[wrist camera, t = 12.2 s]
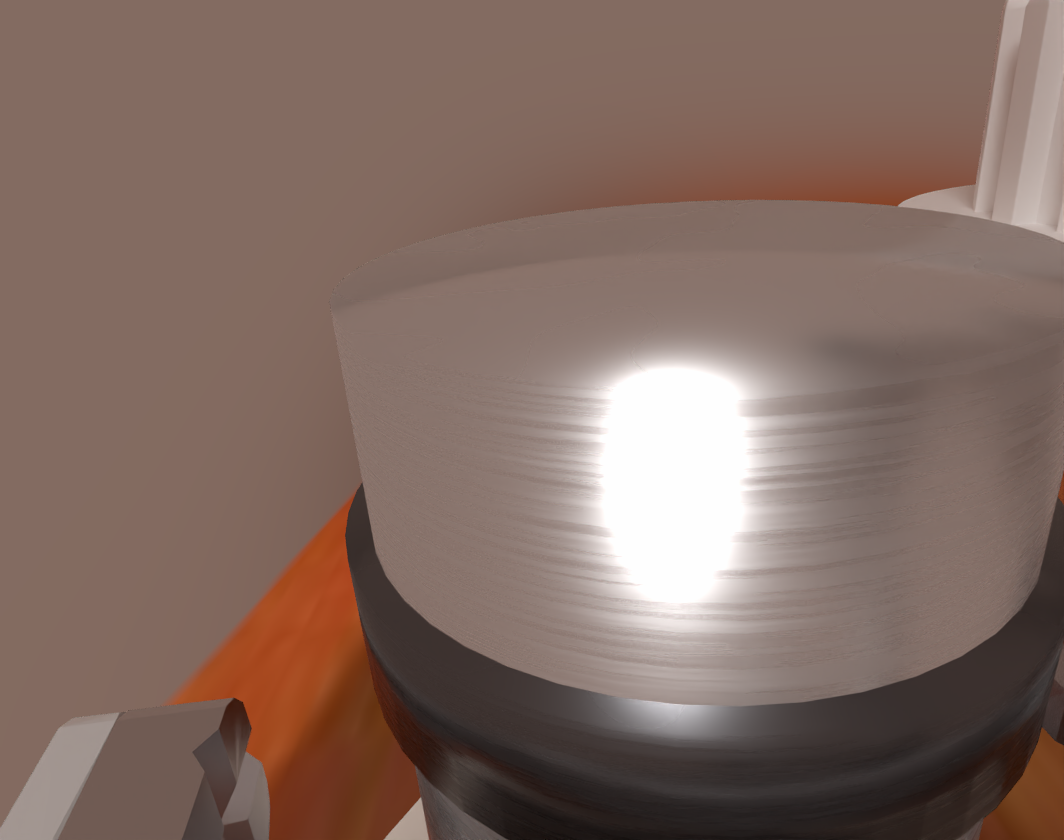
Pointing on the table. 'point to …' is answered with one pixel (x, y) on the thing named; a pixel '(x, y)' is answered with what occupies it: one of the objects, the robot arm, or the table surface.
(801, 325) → the capped metal cylinder
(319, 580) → the table surface
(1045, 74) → the flanged gear
